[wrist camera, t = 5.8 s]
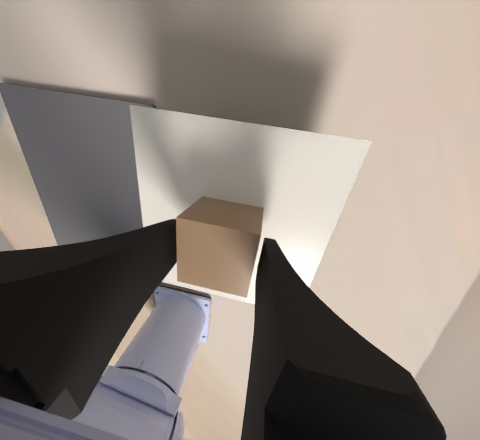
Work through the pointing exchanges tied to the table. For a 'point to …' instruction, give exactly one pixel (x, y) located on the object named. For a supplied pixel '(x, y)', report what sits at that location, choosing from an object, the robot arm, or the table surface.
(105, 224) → the mat
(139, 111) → the lid
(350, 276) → the table surface
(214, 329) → the table surface
